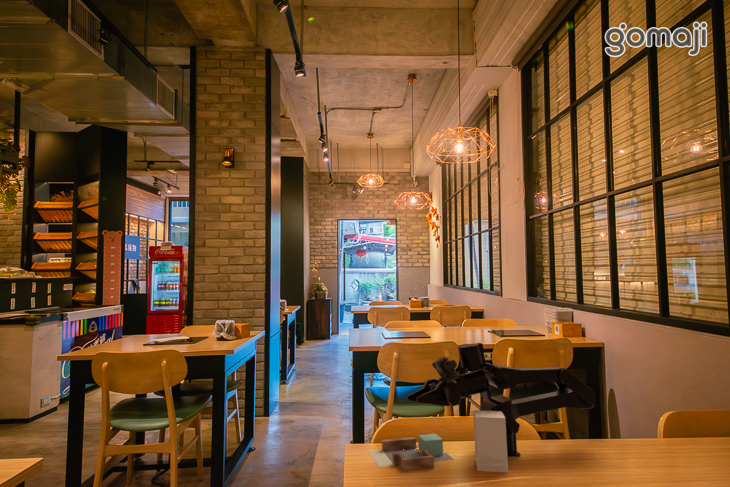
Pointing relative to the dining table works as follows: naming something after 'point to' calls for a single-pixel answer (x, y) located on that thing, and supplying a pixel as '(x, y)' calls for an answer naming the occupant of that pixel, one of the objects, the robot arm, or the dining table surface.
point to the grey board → (386, 457)
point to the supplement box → (490, 441)
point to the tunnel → (408, 463)
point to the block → (431, 444)
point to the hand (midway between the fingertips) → (411, 399)
